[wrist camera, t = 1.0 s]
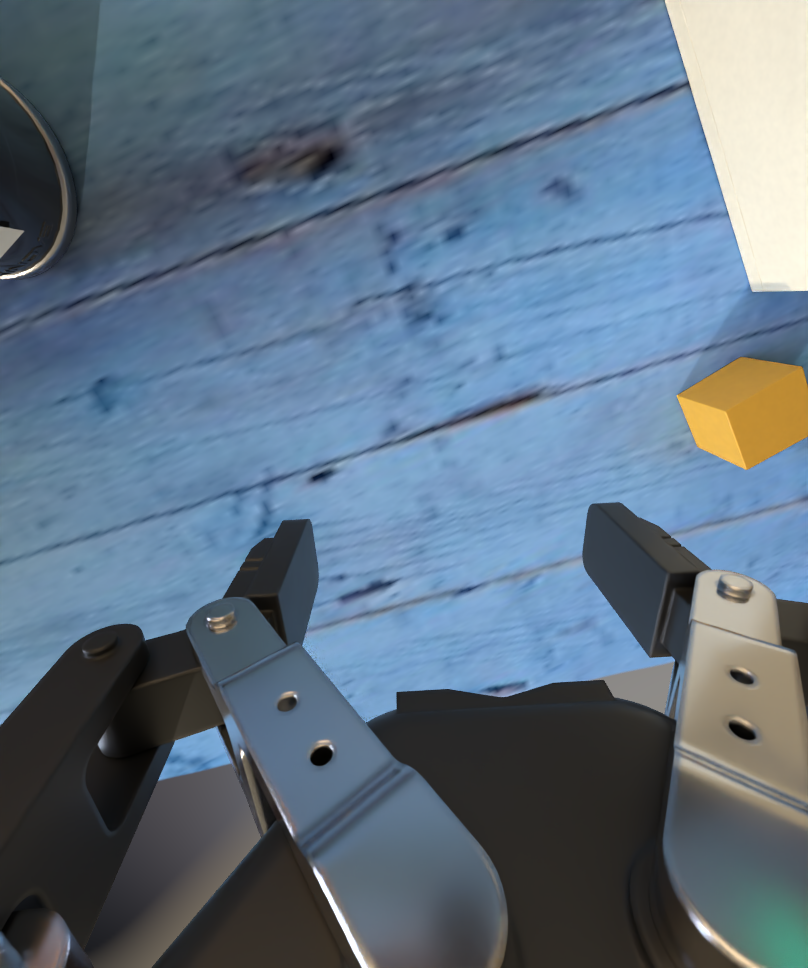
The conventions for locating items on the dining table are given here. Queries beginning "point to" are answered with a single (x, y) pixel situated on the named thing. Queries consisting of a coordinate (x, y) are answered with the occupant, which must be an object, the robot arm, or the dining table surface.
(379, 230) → the dining table surface
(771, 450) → the block
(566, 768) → the robot arm
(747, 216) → the cream rectangular box
